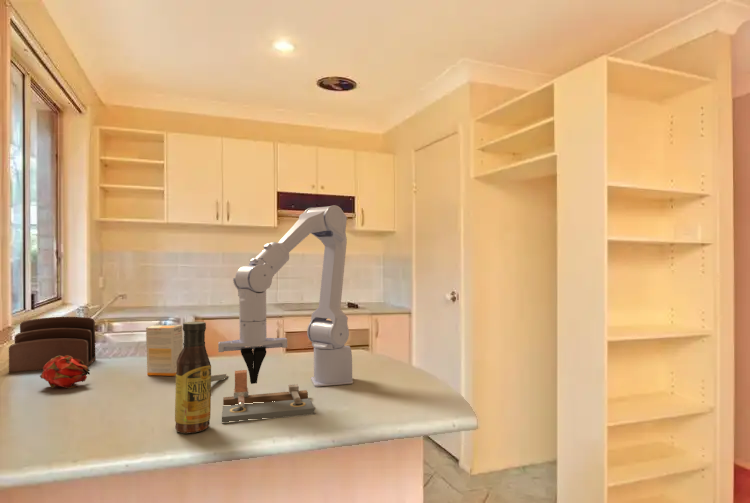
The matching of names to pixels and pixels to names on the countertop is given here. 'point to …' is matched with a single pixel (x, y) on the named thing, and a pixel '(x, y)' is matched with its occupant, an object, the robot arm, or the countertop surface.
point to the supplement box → (163, 349)
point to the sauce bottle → (193, 381)
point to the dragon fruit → (64, 371)
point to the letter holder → (52, 342)
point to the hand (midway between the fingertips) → (253, 382)
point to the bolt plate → (268, 410)
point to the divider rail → (272, 396)
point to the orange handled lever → (241, 387)
